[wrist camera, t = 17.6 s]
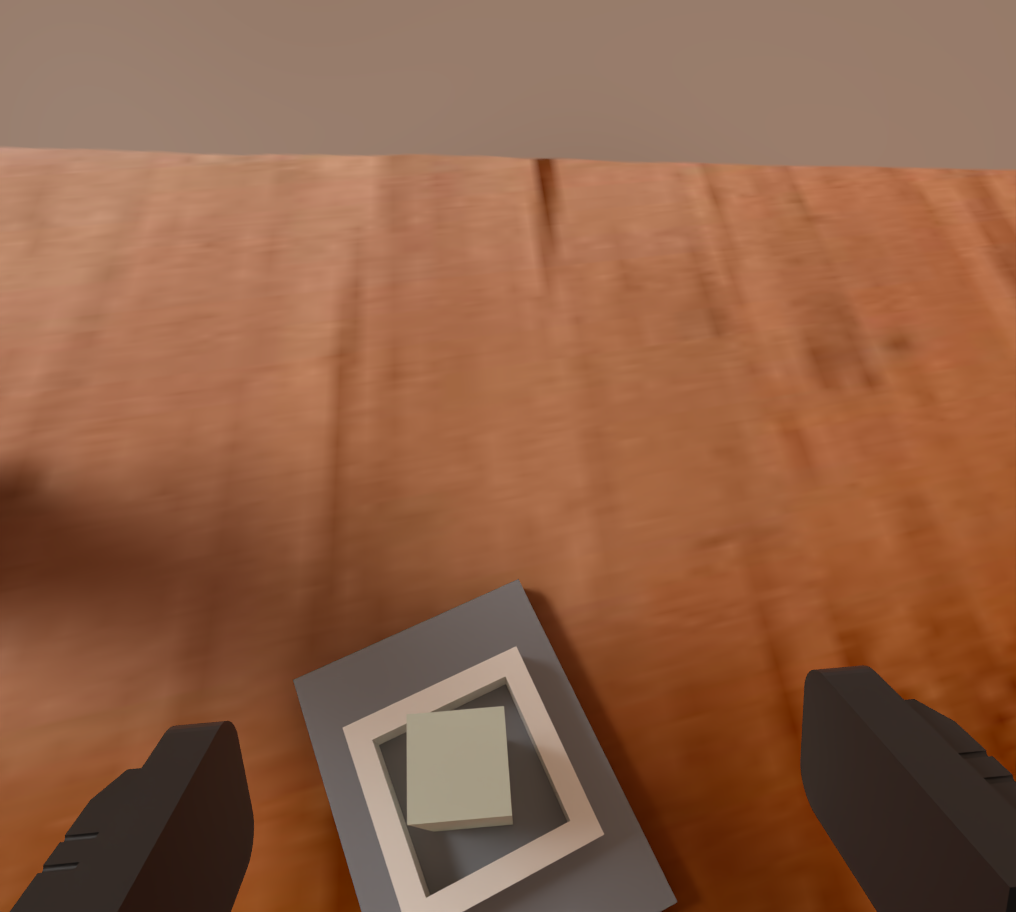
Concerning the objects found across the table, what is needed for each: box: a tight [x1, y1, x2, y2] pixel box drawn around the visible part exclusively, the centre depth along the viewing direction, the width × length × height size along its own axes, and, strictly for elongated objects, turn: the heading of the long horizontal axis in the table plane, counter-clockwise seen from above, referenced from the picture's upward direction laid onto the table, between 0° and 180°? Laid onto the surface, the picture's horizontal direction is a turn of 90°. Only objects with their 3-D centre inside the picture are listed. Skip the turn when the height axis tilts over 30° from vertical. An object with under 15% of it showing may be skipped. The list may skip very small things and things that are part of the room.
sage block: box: [406, 706, 513, 832], centre depth 31 cm, size 4×4×10 cm
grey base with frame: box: [293, 579, 677, 912], centre depth 36 cm, size 18×14×4 cm
